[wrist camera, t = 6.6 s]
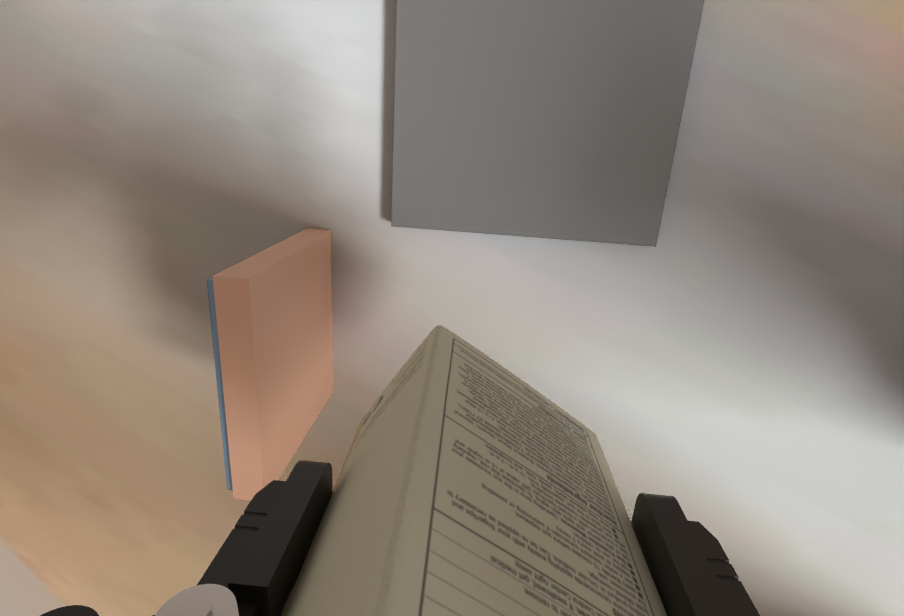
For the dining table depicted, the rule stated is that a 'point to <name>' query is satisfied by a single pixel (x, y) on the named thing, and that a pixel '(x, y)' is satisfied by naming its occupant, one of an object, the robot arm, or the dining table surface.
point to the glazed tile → (272, 355)
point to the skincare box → (472, 505)
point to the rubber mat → (539, 115)
